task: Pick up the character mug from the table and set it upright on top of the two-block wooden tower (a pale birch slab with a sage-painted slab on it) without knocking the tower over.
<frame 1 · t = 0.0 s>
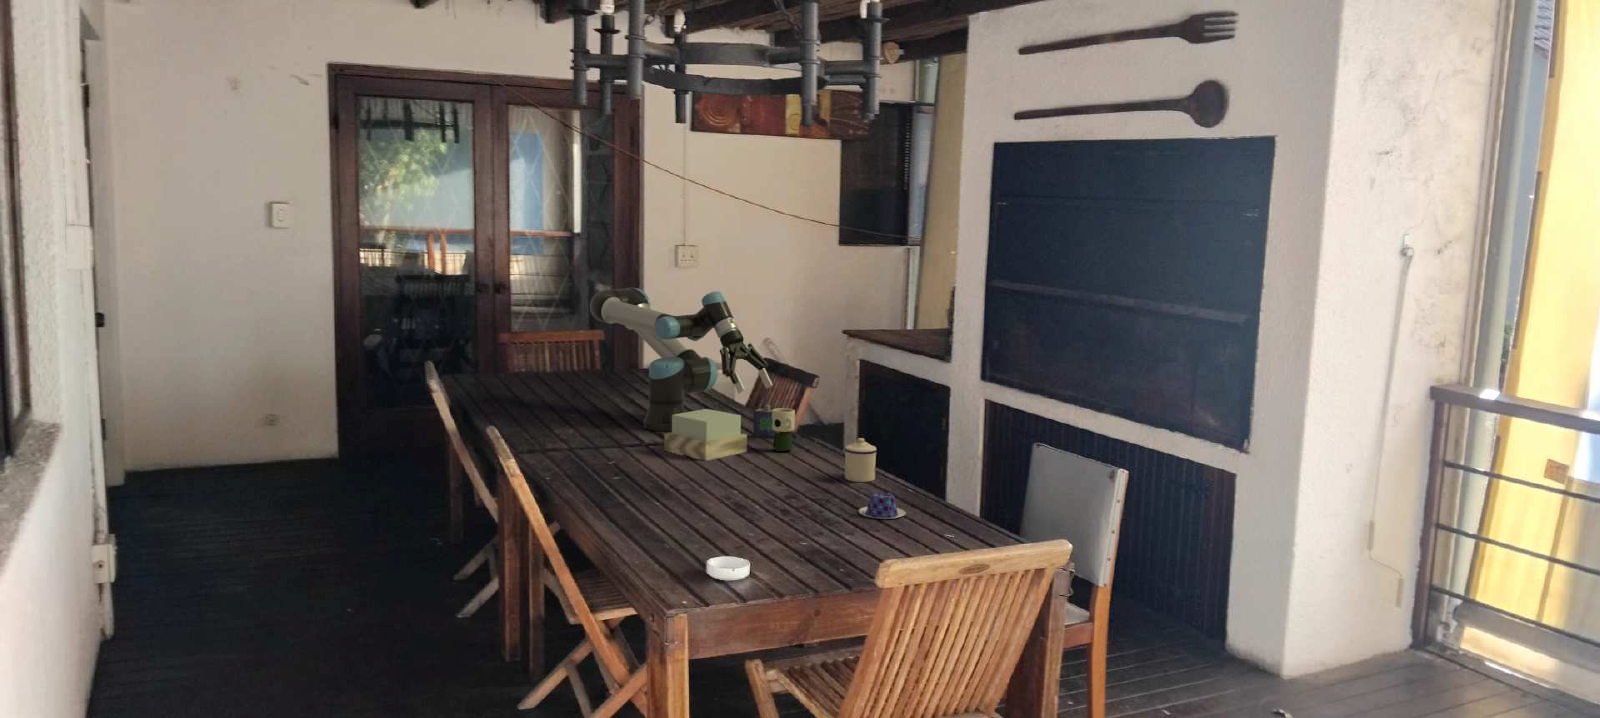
hand: (755, 389, 394), 15 cm above the table, tool tilted 35°, fingers open, 13 cm apart
pudding: (881, 515, 302), on the table
tower top: (706, 434, 368), point 5 cm above the table, touching tower base
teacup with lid: (857, 478, 340), on the table
tower base: (705, 453, 369), on the table, touching tower top
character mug: (782, 451, 372), on the table
flask: (767, 437, 393), on the table
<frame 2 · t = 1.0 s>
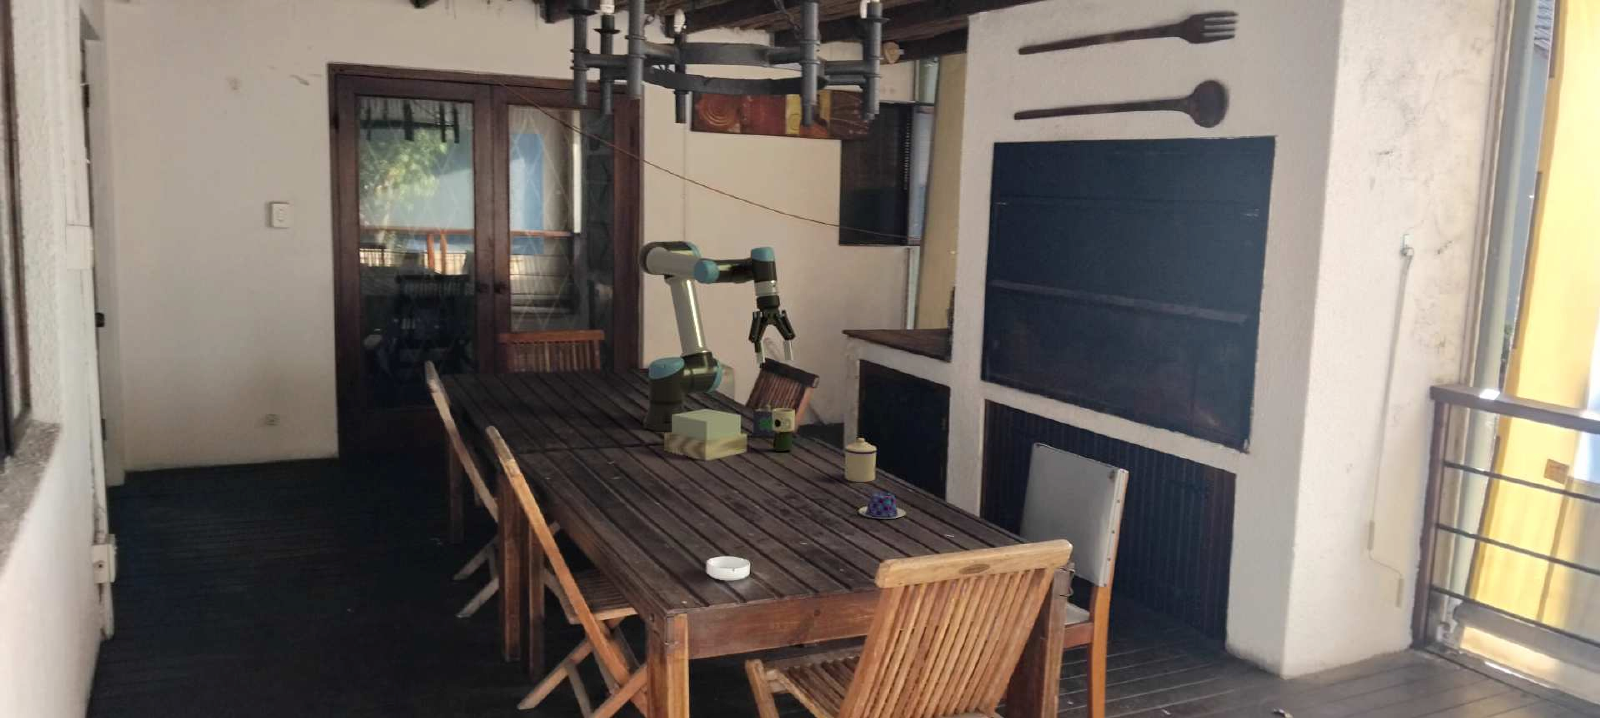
hand: (775, 361, 378), 27 cm above the table, tool pointing down, fingers open, 13 cm apart
nothing on the table moved.
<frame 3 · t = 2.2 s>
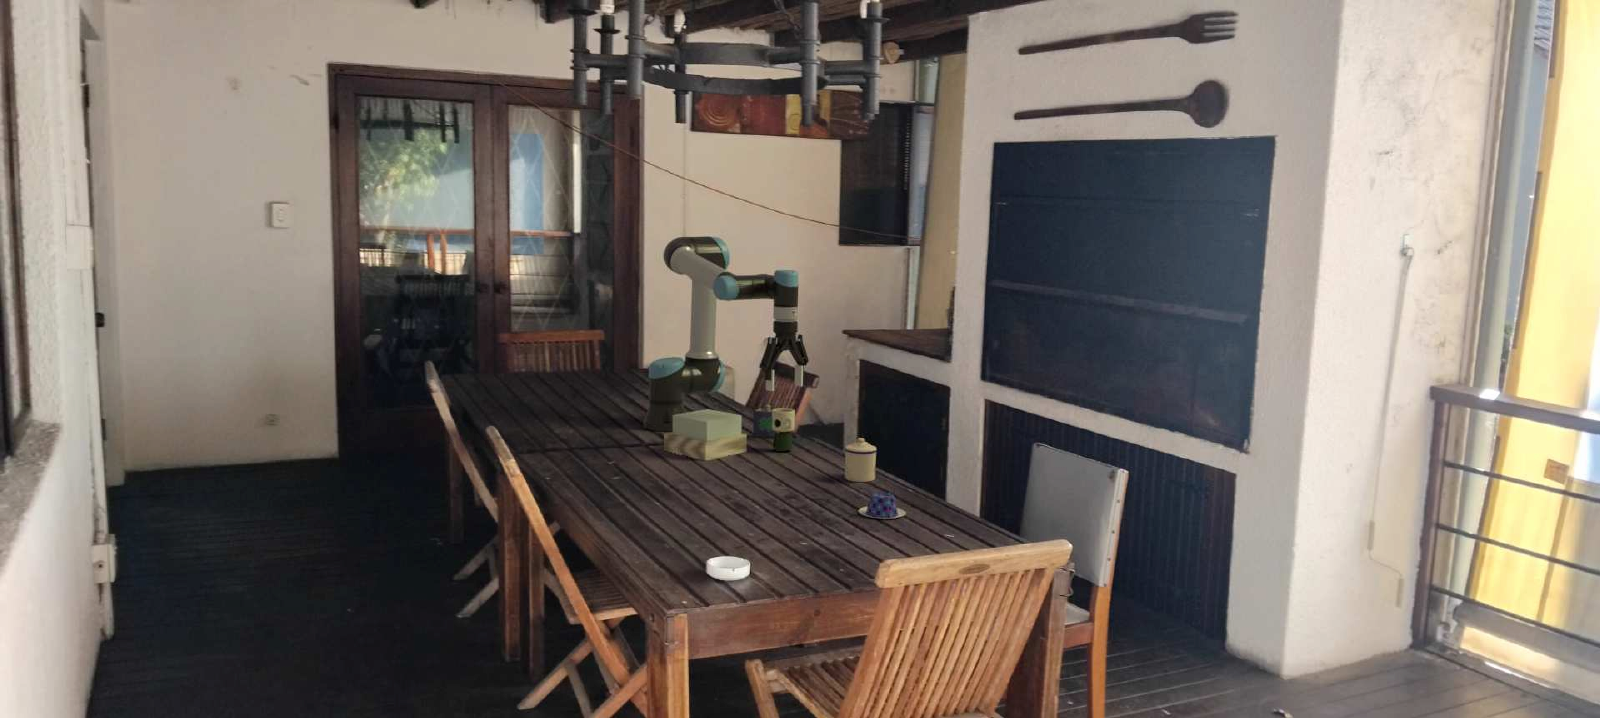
hand: (784, 388, 369), 20 cm above the table, tool pointing down, fingers open, 13 cm apart
nothing on the table moved.
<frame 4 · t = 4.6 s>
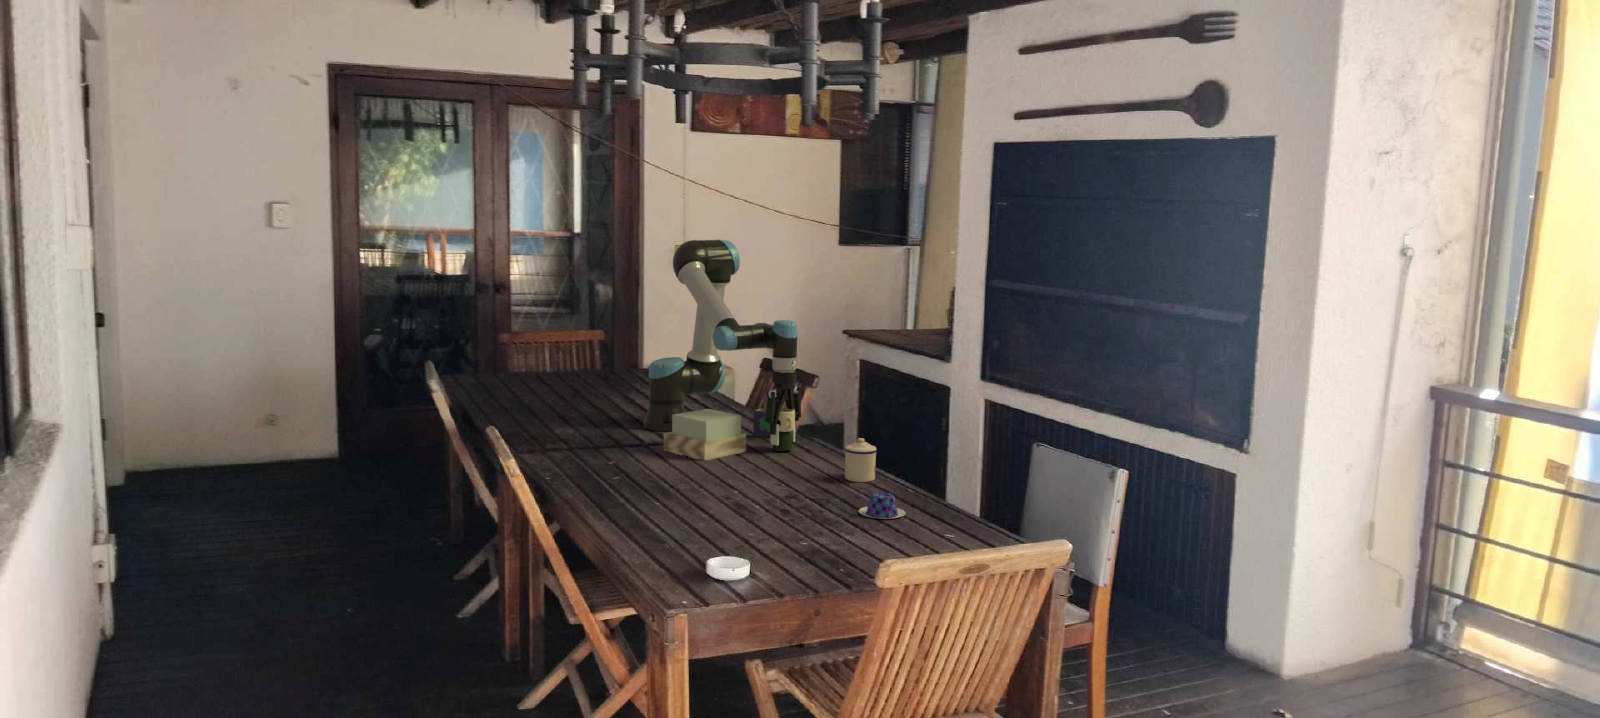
hand: (782, 442, 372), 3 cm above the table, tool pointing down, fingers closed on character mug, 7 cm apart
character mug: (782, 451, 372), on the table, touching gripper
everything else where it was.
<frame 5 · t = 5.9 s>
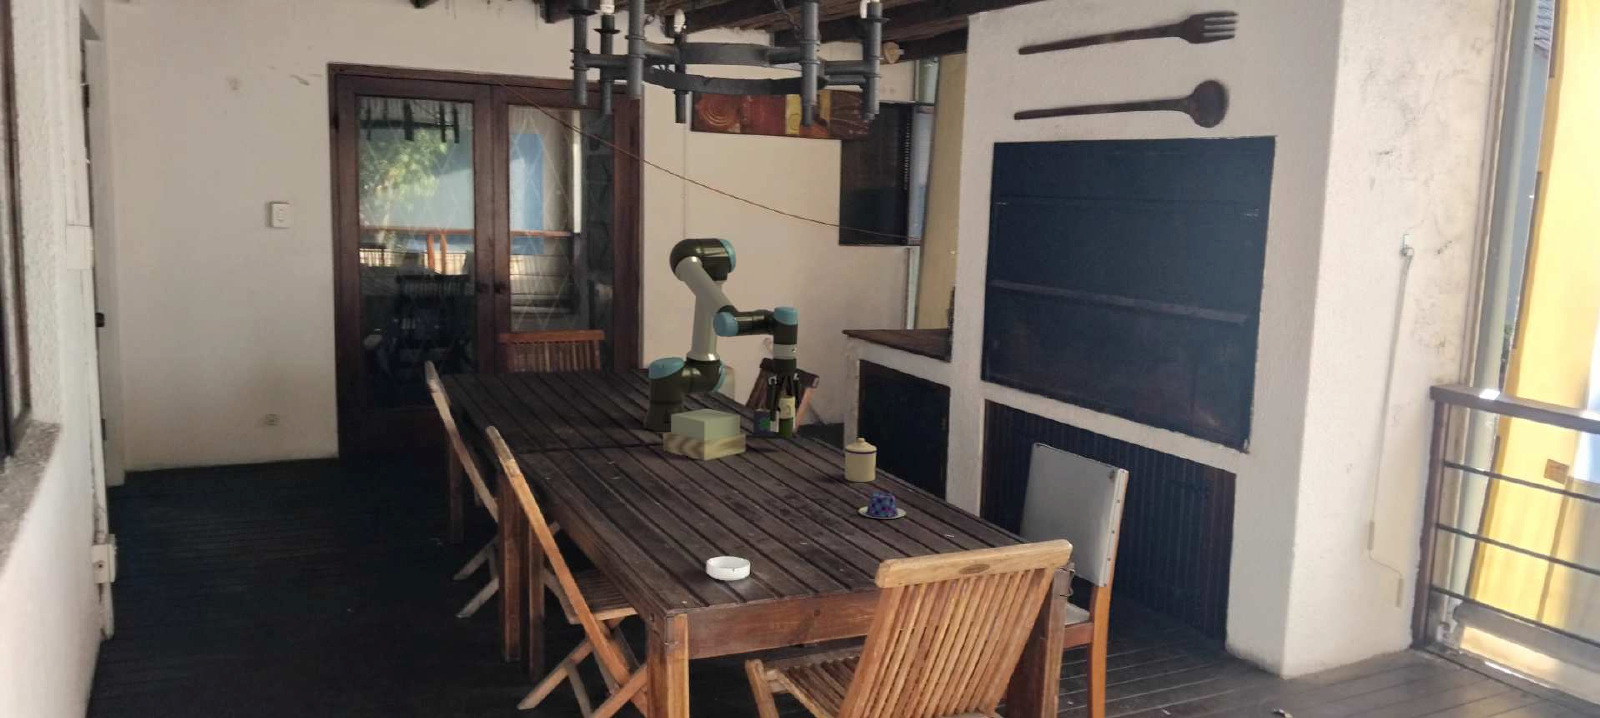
hand: (782, 429, 372), 7 cm above the table, tool pointing down, fingers closed on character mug, 7 cm apart
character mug: (782, 438, 372), point 4 cm above the table, touching gripper
everything else where it was.
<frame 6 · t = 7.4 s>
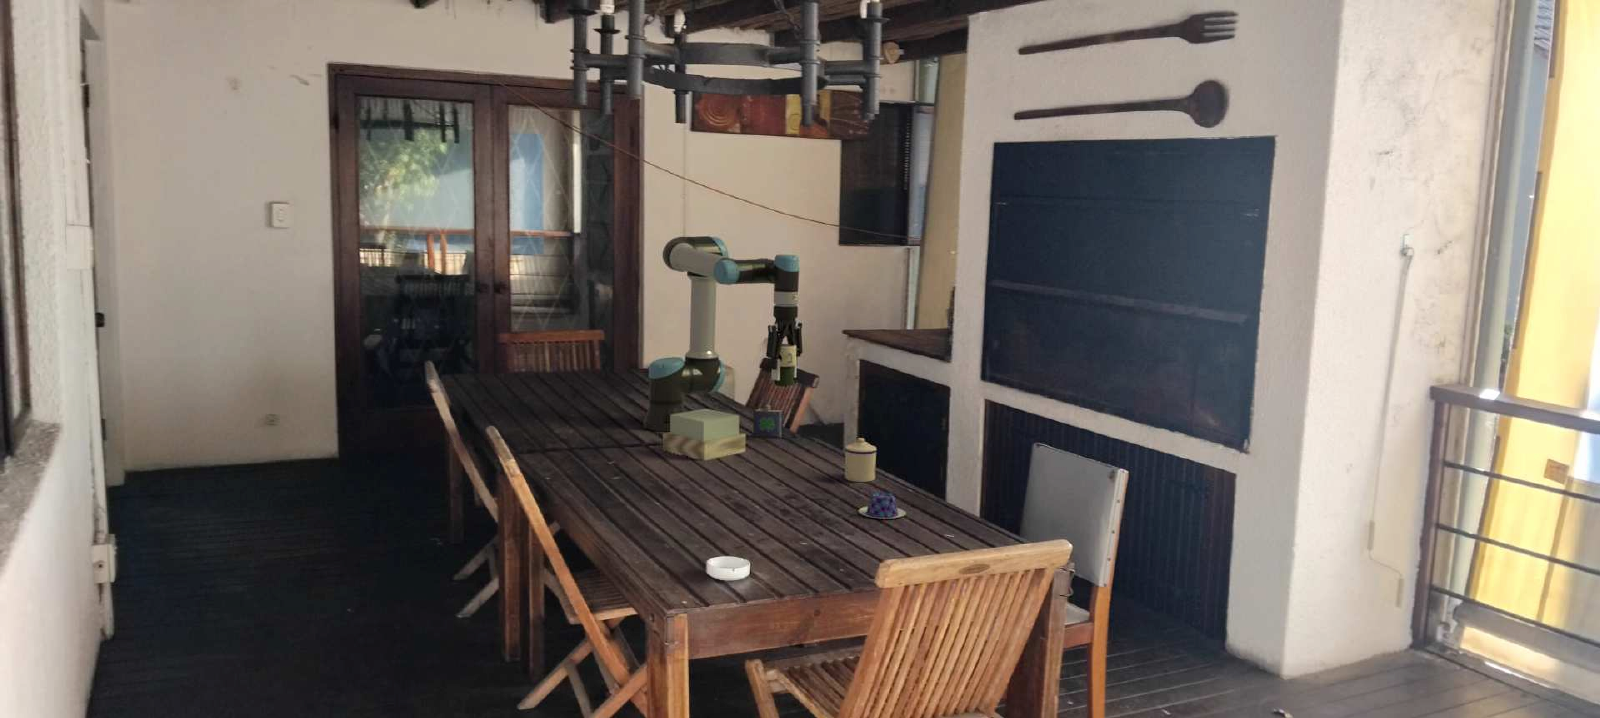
hand: (783, 378, 369), 23 cm above the table, tool pointing down, fingers closed on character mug, 7 cm apart
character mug: (783, 387, 370), point 20 cm above the table, touching gripper
everything else where it was.
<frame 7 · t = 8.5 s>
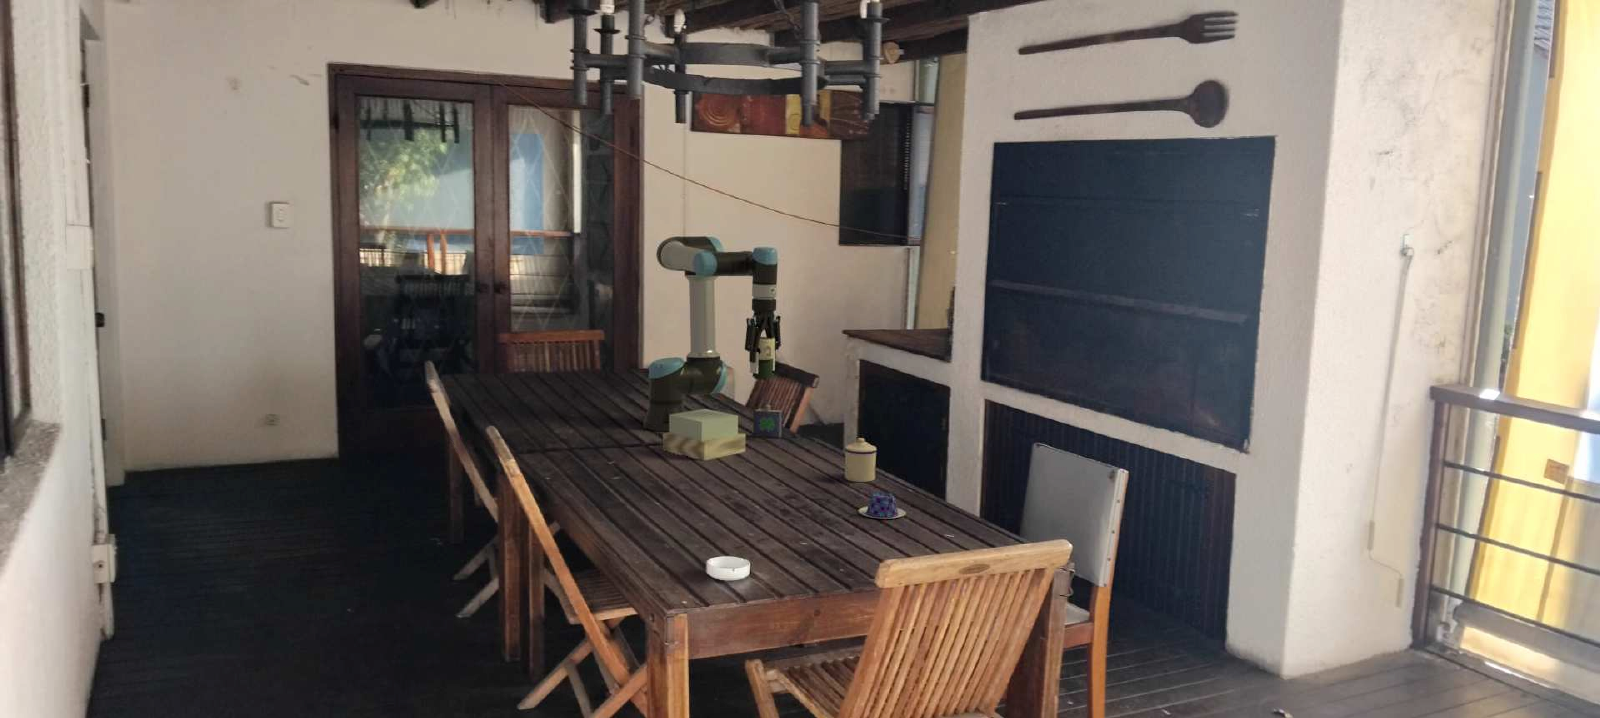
hand: (762, 371, 368), 25 cm above the table, tool pointing down, fingers closed on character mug, 7 cm apart
tower top: (703, 434, 368), point 5 cm above the table
tower base: (704, 452, 369), on the table
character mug: (762, 380, 369), point 22 cm above the table, touching gripper
everything else where it was.
when the fingers open (16 cm above the table, at t = 11.9 s): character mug drops 1 cm, resting on tower top.
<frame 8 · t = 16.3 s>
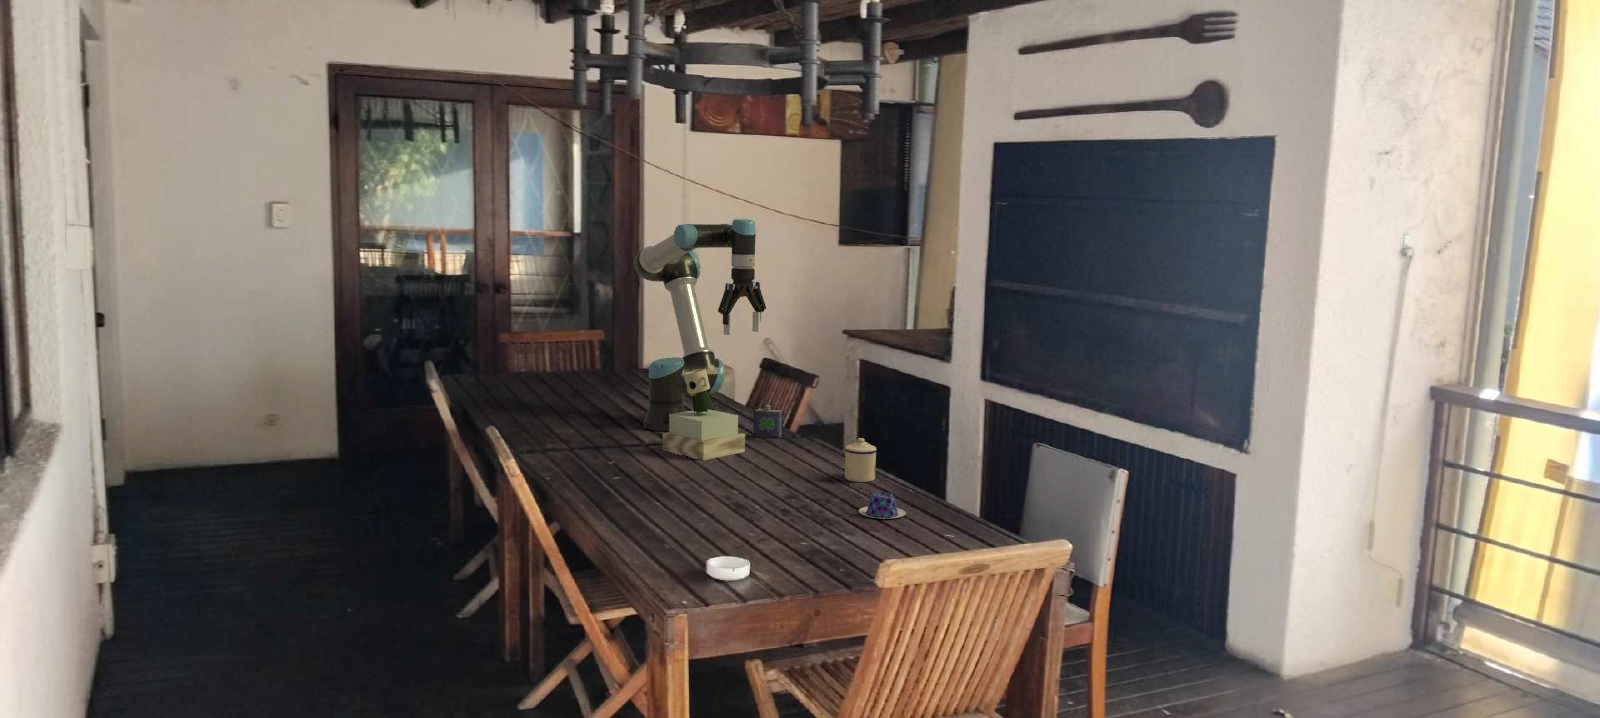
hand: (742, 333, 384), 35 cm above the table, tool pointing down, fingers open, 13 cm apart
tower top: (703, 433, 368), point 5 cm above the table, touching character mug, tower base
tower base: (703, 452, 369), on the table, touching tower top
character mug: (704, 412, 368), point 12 cm above the table, touching tower top
at the end: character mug inside the target area on the tower base (0.4 cm from its centre), point 12.3 cm above the tower base's base; tower top inside the target area on the tower base (0.1 cm from its centre), point 6.0 cm above the tower base's base; tower base moved 0.8 cm from its start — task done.
